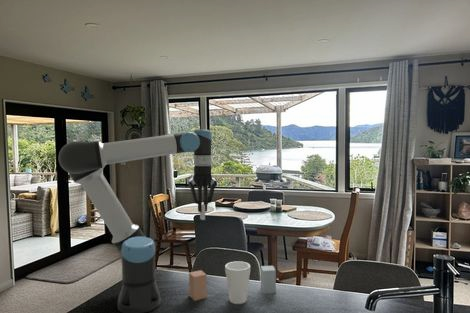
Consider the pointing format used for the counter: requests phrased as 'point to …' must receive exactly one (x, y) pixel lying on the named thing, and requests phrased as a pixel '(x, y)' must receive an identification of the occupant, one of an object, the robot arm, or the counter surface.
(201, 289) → the terracotta block
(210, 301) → the counter surface
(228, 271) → the foam cup
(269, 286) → the slate block
